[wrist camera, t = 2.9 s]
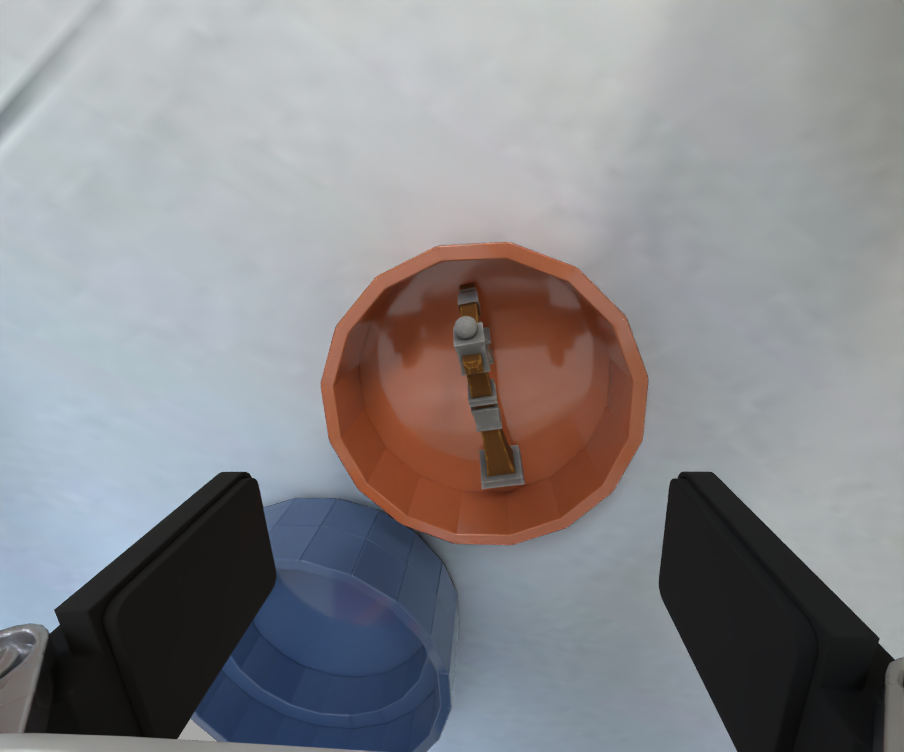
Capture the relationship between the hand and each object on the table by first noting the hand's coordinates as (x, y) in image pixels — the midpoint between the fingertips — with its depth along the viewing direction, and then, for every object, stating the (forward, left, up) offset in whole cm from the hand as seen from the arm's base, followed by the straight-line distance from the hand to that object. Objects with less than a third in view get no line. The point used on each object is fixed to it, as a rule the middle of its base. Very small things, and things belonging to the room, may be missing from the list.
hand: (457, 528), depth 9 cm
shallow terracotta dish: (0, 0, -9) cm, 9 cm away
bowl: (+8, +12, -9) cm, 17 cm away
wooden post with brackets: (0, 0, -9) cm, 9 cm away
